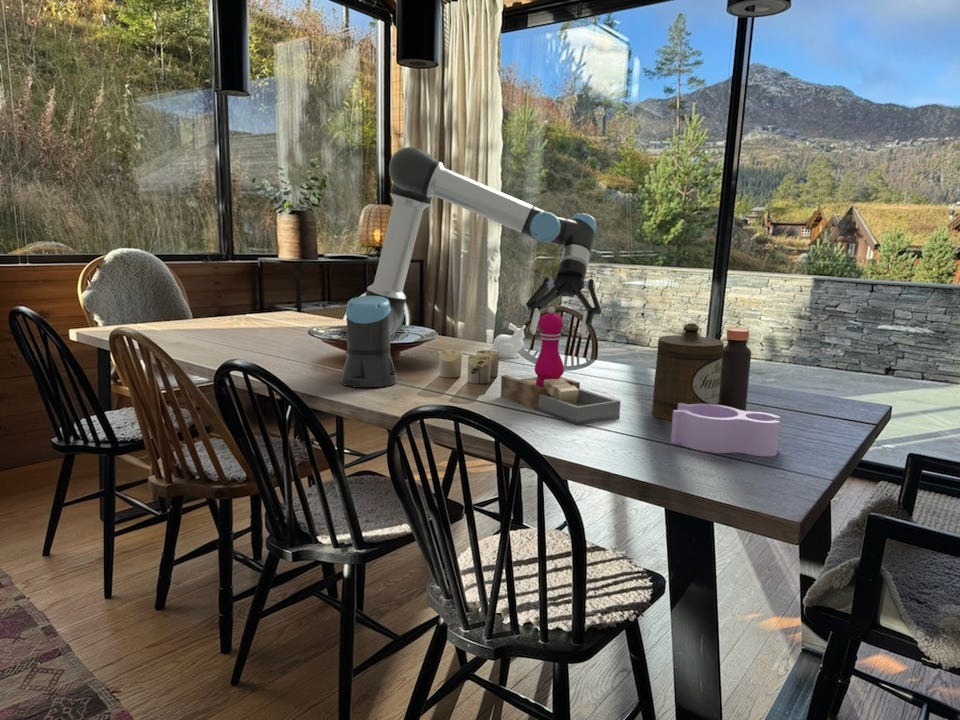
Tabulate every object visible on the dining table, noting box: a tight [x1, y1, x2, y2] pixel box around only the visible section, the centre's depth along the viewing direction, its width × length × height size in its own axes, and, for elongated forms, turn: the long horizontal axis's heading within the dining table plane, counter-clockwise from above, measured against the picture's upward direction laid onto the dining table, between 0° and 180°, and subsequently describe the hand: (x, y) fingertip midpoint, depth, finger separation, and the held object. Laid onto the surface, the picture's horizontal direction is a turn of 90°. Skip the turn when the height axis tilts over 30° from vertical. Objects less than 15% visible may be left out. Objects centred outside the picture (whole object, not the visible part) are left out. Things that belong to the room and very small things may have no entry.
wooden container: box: [651, 322, 725, 422], centre depth 158 cm, size 15×15×22 cm
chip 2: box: [553, 385, 579, 405], centre depth 160 cm, size 5×5×2 cm
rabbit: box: [489, 322, 526, 359], centre depth 228 cm, size 12×9×12 cm
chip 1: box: [543, 379, 570, 397], centre depth 163 cm, size 5×5×2 cm
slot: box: [500, 374, 581, 411], centre depth 171 cm, size 16×13×6 cm
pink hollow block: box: [670, 403, 781, 457], centre depth 138 cm, size 20×12×7 cm, turn 65°
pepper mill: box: [534, 306, 565, 387], centre depth 167 cm, size 7×7×20 cm
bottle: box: [718, 328, 752, 411], centre depth 163 cm, size 7×7×20 cm
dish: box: [537, 388, 621, 426], centre depth 159 cm, size 14×13×4 cm
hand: (556, 333), depth 176 cm, fingers open, 13 cm apart
